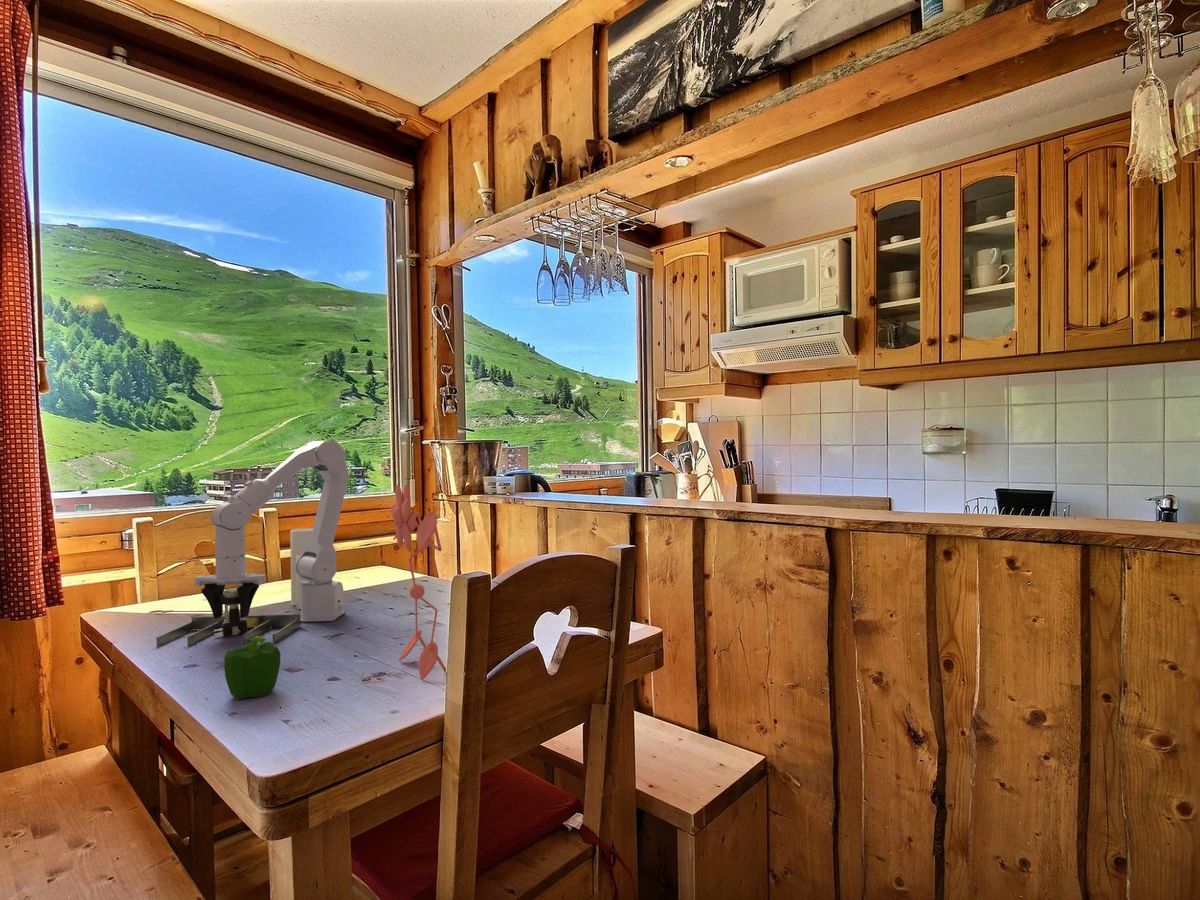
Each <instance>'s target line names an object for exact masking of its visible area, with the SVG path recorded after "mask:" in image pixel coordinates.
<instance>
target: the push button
mask: <svg viewBox="0 0 1200 900" xmlns="http://www.w3.org/2000/svg"><path fill="white" fill-rule="evenodd" d="M219 598H220V599H221V604H223V605H224V616H225V620H224V623H223V624H222V625H223V628H221V629H217V630H214V631H217V632H218V633H217V632H216V633H214V636H218V635H220V636H221V635H223V637H228V636H235V635H239V634H245V633H247V632H248V629H247V621H246V619H245V617H244V618H241V617H240V601H239V595H238V592H237V587H233V588H232V587H230V588H227V589H224V593H223V594H222V595H220V596H219ZM228 616H229V617H228Z"/></svg>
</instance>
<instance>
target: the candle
mask: <svg viewBox="0 0 1200 900" xmlns="http://www.w3.org/2000/svg"><path fill="white" fill-rule="evenodd" d="M312 530H313V527H312V528H311V527H309V528H306V527H305V528H295V529H292V530H290V535H289V536H290V543H289V545H290V598H291V599H290V602H291V603H290V605H291V604H292V605H291V606H293V605H297V606H296V610H298V609H300V580H301V577H300V576H299V575H298V574H297V572H296V568H295V566H296V562H297V560H298V559H299V558H300V556H301V555H302V553H303V549H304V547H305V546H306V545H307V544H308V543H309V542H310V539H311V535H312Z"/></svg>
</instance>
